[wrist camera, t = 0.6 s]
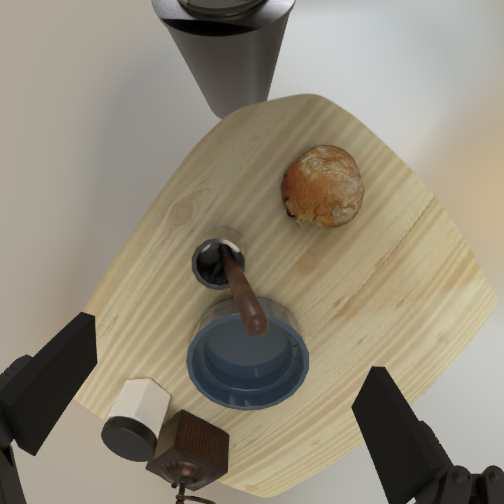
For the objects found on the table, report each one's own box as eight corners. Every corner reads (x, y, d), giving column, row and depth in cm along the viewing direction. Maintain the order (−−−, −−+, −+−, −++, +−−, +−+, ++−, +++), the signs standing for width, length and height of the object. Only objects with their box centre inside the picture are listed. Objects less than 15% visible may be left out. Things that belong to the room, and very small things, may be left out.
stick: (218, 241, 37) (250, 318, 18) (230, 243, 37) (274, 321, 18) (216, 253, 37) (244, 340, 18) (228, 255, 38) (268, 342, 19)
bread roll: (348, 209, 40) (390, 203, 33) (295, 245, 37) (336, 246, 30) (318, 145, 38) (356, 128, 31) (259, 174, 35) (293, 156, 28)
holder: (206, 222, 37) (196, 233, 29) (250, 231, 37) (250, 245, 30) (199, 262, 38) (187, 283, 30) (240, 271, 39) (239, 294, 31)
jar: (127, 369, 42) (100, 417, 31) (174, 386, 43) (157, 439, 31) (123, 404, 44) (100, 450, 32) (165, 419, 45) (150, 469, 33)
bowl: (203, 282, 39) (196, 300, 33) (314, 305, 40) (325, 325, 34) (187, 373, 42) (181, 398, 36) (284, 390, 43) (288, 416, 38)
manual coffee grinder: (152, 434, 46) (129, 507, 28) (182, 407, 44) (161, 492, 27) (219, 467, 48) (213, 538, 31) (253, 444, 47) (255, 523, 29)
